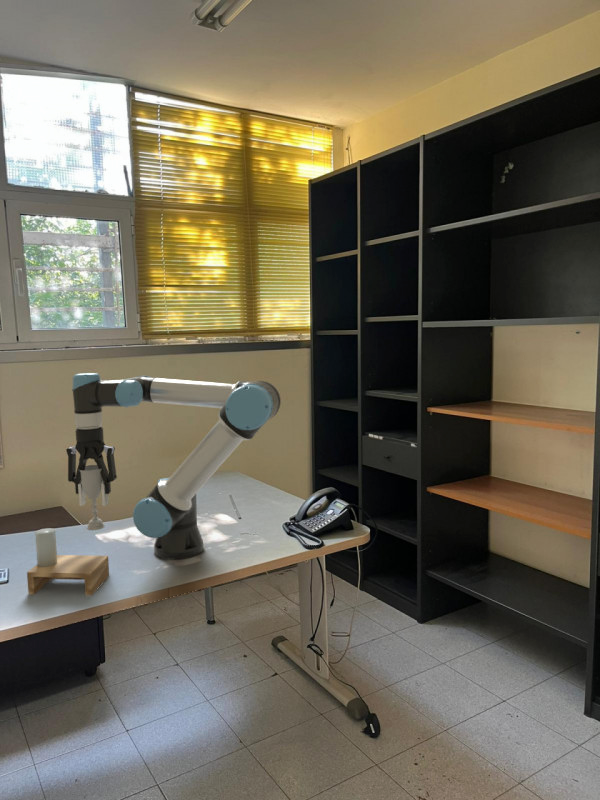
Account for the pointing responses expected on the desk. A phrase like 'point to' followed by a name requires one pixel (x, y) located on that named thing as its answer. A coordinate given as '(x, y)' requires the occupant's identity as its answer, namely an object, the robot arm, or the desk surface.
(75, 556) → the shelf
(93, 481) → the chalice
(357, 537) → the desk surface
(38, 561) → the white glossy rounded part
